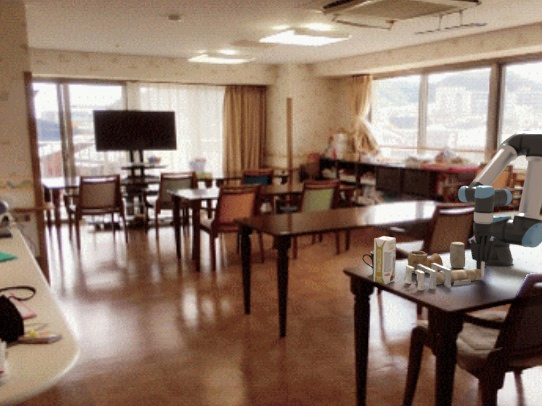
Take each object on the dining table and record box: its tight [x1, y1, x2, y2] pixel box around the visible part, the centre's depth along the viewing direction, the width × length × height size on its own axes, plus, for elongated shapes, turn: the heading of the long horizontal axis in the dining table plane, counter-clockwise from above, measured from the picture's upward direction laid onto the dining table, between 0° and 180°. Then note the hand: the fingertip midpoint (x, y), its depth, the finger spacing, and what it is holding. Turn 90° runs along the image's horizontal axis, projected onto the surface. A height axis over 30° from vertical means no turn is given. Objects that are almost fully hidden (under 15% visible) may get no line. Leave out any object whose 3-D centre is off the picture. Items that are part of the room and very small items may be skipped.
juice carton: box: [373, 235, 397, 285], centre depth 210 cm, size 8×9×19 cm
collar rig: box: [404, 263, 472, 291], centre depth 206 cm, size 25×12×7 cm, turn 106°
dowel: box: [436, 267, 482, 285], centre depth 209 cm, size 20×5×5 cm, turn 106°
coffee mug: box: [362, 250, 374, 275], centre depth 223 cm, size 12×9×10 cm
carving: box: [449, 241, 466, 269], centre depth 230 cm, size 6×8×12 cm
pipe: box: [407, 250, 444, 274], centre depth 222 cm, size 9×16×10 cm, turn 109°
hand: (480, 275), depth 212 cm, fingers closed
